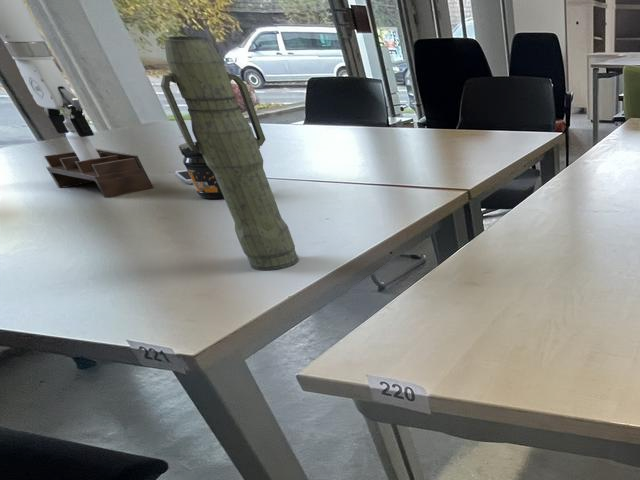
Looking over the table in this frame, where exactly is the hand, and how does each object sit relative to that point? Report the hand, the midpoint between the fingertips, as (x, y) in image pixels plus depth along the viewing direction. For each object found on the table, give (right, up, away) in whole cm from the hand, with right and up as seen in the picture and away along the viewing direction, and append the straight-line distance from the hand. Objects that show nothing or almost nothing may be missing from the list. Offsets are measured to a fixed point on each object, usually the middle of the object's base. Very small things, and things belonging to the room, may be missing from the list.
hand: (76, 134), depth 133 cm
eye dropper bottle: (0, -6, +5) cm, 8 cm away
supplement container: (+35, -14, +5) cm, 38 cm away
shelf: (0, -10, +8) cm, 13 cm away
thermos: (+73, -46, -32) cm, 92 cm away
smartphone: (+17, -1, +18) cm, 25 cm away
